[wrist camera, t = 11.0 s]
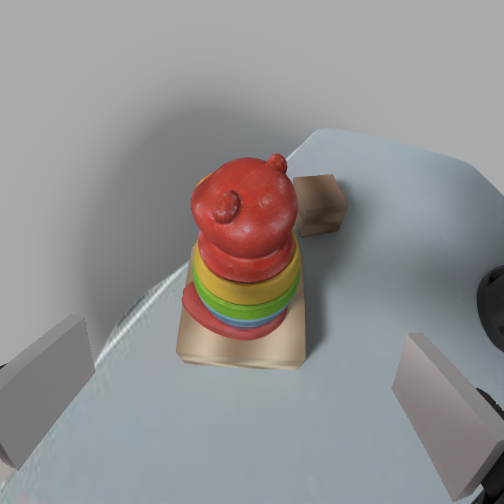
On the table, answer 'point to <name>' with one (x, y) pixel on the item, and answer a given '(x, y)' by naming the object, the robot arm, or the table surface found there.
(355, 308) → the table surface
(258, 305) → the stacking bear
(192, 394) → the table surface
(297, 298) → the maple block
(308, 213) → the walnut cube
